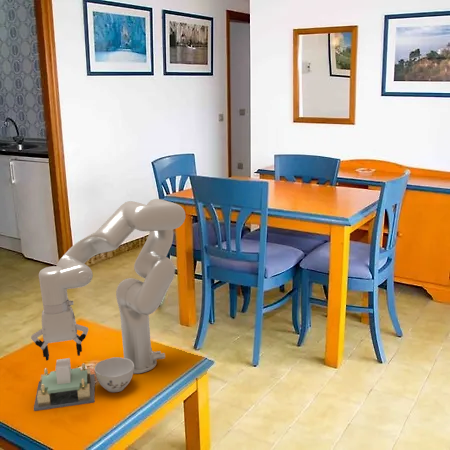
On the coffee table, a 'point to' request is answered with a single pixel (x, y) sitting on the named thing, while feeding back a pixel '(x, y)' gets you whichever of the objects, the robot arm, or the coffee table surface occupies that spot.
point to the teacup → (114, 373)
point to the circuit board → (64, 387)
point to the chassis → (65, 394)
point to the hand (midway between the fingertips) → (63, 356)
